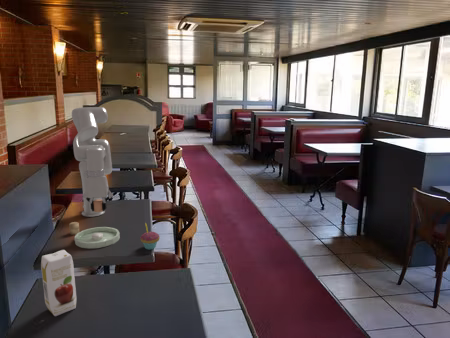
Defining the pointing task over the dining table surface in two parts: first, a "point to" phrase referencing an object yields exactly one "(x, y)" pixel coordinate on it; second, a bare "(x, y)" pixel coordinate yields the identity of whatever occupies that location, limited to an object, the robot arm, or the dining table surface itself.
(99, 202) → the terracotta bead
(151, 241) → the cupcake
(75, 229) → the maple bead
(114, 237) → the groove tray
